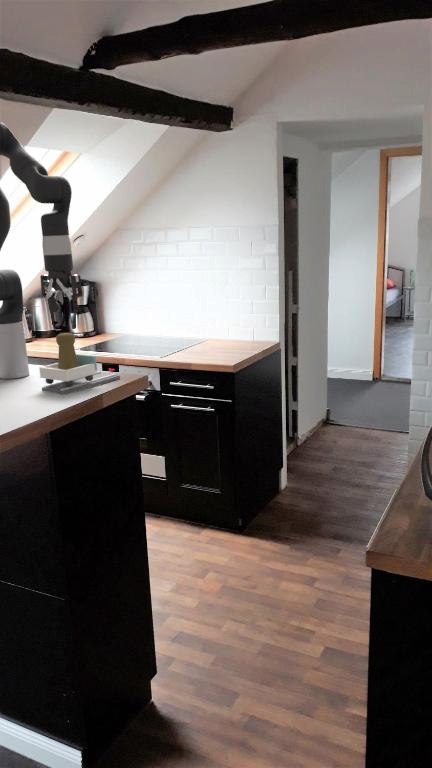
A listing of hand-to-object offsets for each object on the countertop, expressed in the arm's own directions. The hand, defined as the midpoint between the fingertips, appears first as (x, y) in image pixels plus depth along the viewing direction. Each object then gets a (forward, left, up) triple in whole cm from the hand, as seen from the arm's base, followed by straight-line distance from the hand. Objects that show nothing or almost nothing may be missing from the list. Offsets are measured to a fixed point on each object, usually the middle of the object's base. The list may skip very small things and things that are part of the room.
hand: (63, 312), depth 167 cm
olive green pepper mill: (0, 0, -17) cm, 17 cm away
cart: (0, 0, -20) cm, 20 cm away
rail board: (0, +4, -22) cm, 22 cm away
